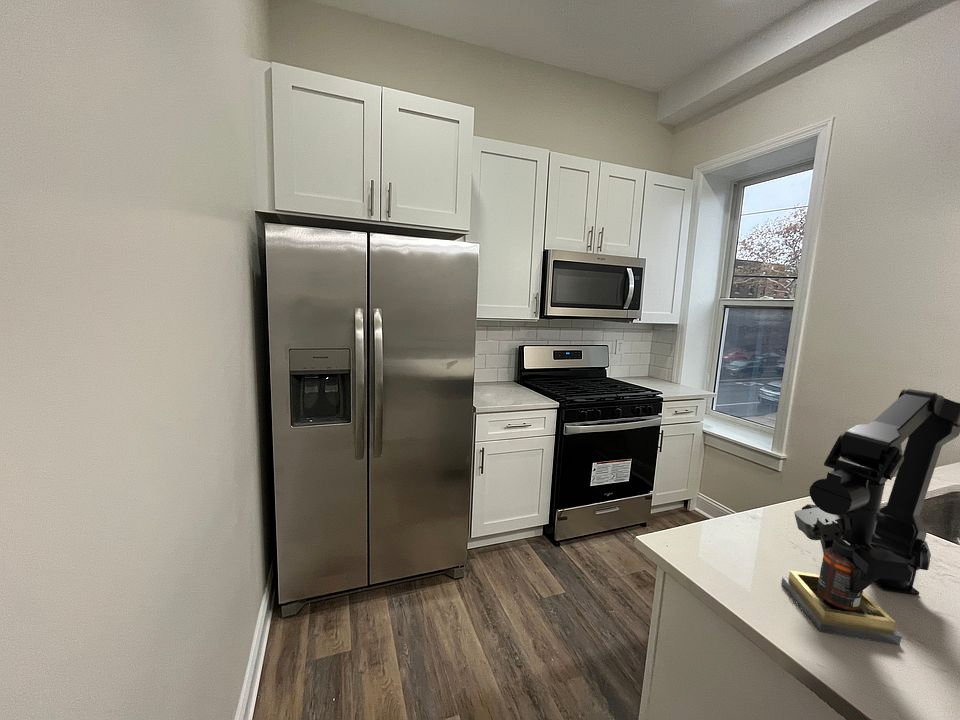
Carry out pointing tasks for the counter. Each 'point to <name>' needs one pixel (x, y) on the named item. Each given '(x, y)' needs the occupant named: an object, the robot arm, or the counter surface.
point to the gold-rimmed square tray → (840, 612)
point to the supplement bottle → (838, 577)
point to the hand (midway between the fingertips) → (841, 580)
